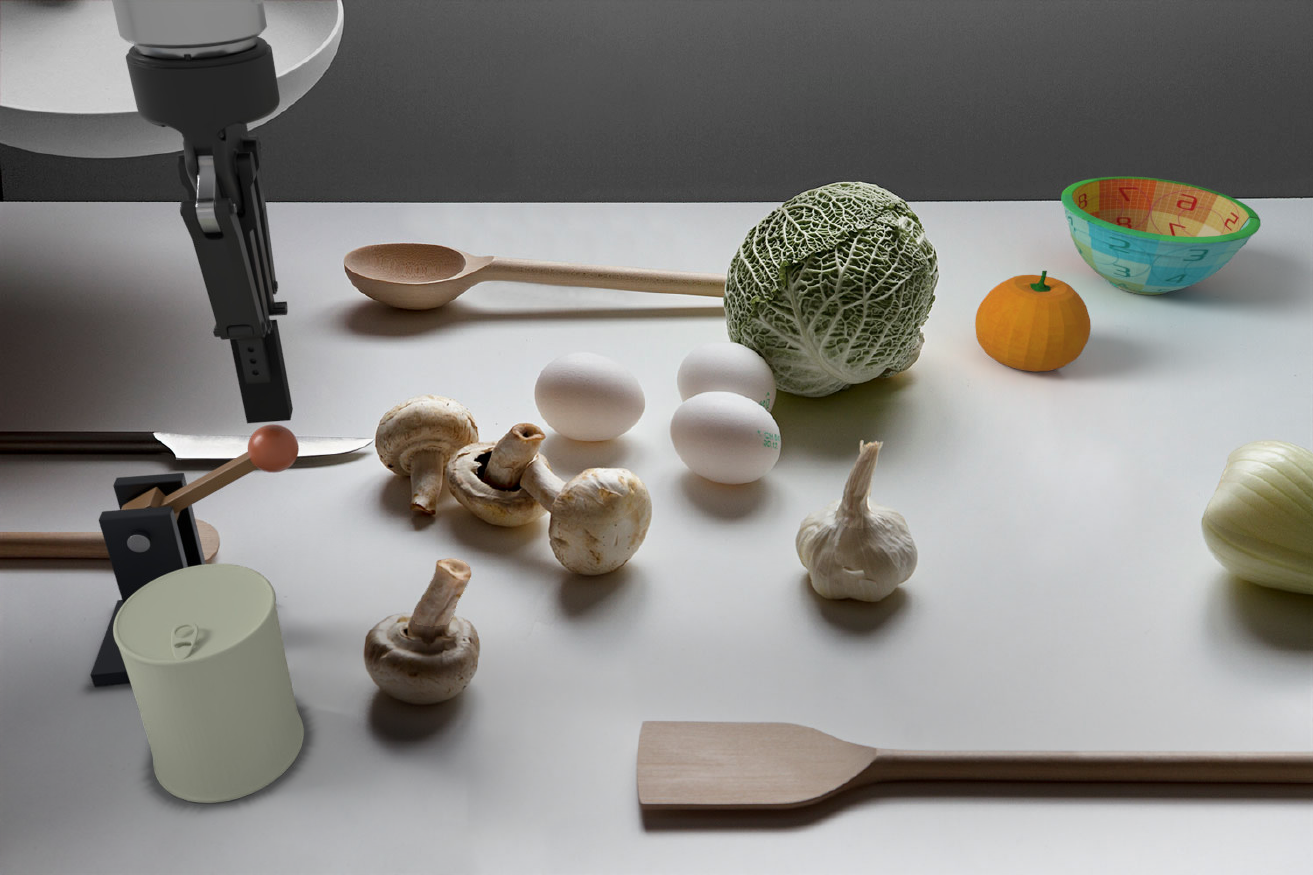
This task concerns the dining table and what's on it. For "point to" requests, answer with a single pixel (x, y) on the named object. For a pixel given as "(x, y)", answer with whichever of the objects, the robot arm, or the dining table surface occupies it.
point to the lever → (230, 470)
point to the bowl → (1155, 231)
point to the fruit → (1033, 323)
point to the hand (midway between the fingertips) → (270, 415)
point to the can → (211, 681)
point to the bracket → (143, 554)
